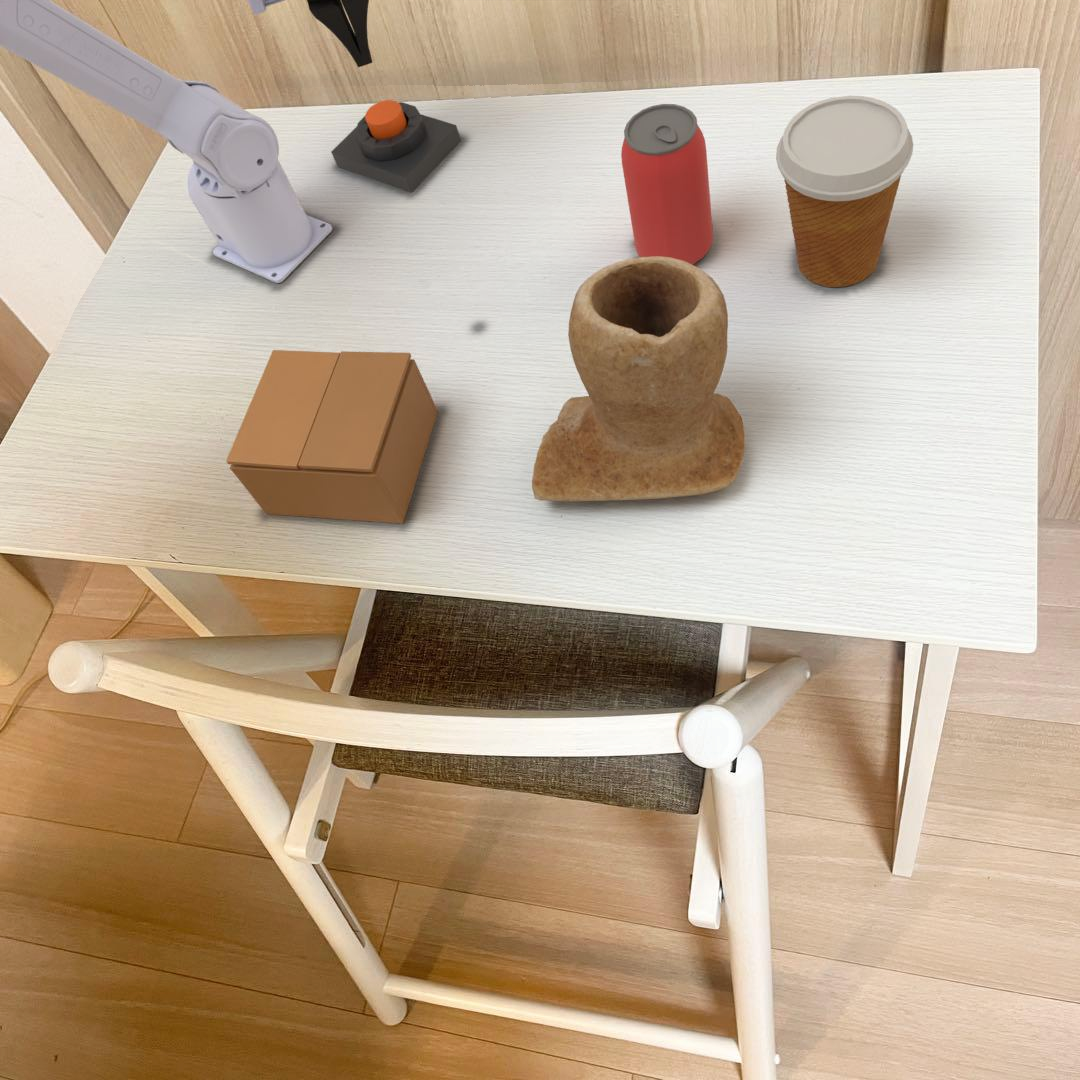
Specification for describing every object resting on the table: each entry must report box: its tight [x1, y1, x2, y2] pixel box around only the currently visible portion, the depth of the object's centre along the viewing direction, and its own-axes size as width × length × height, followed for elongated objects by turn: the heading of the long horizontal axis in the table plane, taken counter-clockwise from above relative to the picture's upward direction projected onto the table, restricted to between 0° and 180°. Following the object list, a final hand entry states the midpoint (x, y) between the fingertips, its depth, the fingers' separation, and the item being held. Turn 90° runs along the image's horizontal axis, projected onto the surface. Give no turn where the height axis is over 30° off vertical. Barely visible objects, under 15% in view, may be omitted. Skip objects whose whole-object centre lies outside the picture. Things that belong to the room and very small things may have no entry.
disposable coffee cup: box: [775, 95, 914, 288], centre depth 78 cm, size 10×10×12 cm
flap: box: [225, 349, 341, 469], centre depth 78 cm, size 6×11×1 cm, turn 168°
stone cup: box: [531, 256, 746, 502], centre depth 71 cm, size 15×12×15 cm
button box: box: [330, 101, 462, 194], centre depth 101 cm, size 10×8×4 cm
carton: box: [229, 350, 439, 525], centre depth 80 cm, size 12×11×7 cm
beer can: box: [620, 103, 714, 265], centre depth 83 cm, size 7×7×12 cm
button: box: [364, 99, 407, 139], centre depth 99 cm, size 4×4×2 cm
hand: (363, 59), depth 93 cm, fingers closed
